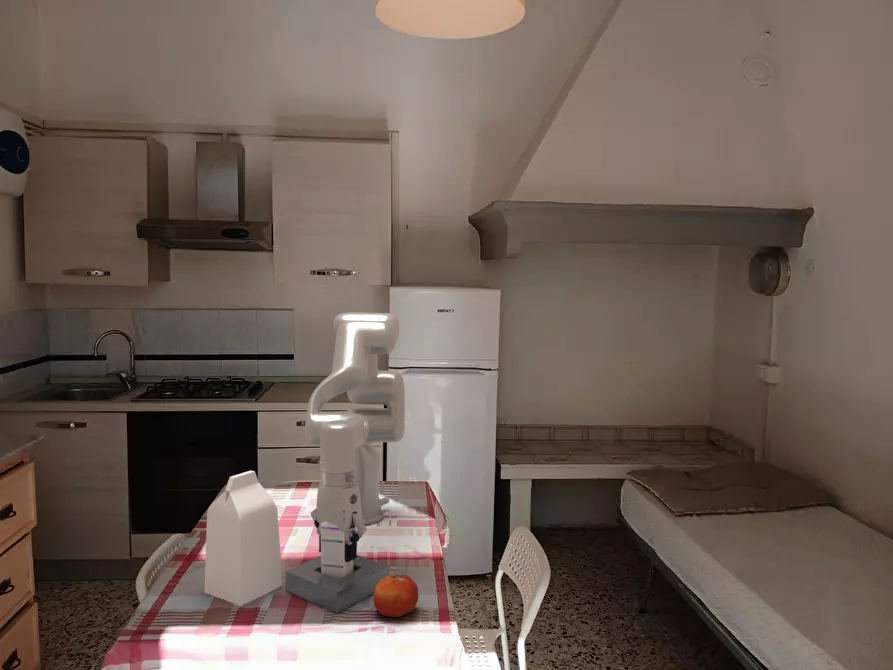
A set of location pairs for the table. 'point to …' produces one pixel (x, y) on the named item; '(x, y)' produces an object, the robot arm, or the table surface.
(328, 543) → the syrup box
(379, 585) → the tomato
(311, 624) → the table surface
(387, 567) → the bore block
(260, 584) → the milk
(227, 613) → the table surface
